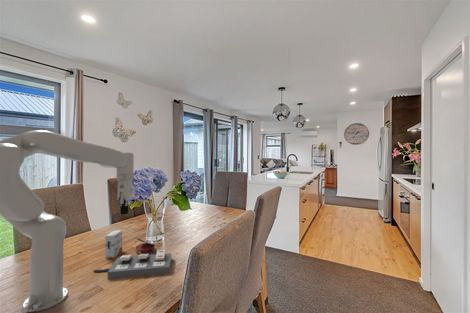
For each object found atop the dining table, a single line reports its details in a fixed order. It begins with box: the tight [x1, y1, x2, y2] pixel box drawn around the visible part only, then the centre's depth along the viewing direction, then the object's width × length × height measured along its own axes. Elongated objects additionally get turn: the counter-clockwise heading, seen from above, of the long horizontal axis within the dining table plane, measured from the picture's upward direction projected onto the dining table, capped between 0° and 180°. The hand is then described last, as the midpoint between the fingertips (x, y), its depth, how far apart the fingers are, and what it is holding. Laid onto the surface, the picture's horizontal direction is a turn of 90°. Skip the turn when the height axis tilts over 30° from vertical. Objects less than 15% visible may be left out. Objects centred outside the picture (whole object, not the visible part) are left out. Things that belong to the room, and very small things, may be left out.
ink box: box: [104, 229, 123, 259], centre depth 118 cm, size 8×5×12 cm, turn 0°
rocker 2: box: [137, 254, 150, 259], centre depth 106 cm, size 6×4×1 cm, turn 13°
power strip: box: [93, 252, 172, 280], centre depth 104 cm, size 14×34×3 cm, turn 102°
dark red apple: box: [135, 237, 156, 256], centre depth 123 cm, size 11×10×10 cm
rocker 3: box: [155, 249, 166, 260], centre depth 108 cm, size 6×4×1 cm, turn 12°
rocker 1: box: [119, 254, 133, 261], centre depth 105 cm, size 6×4×1 cm, turn 13°
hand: (124, 213), depth 108 cm, fingers closed
